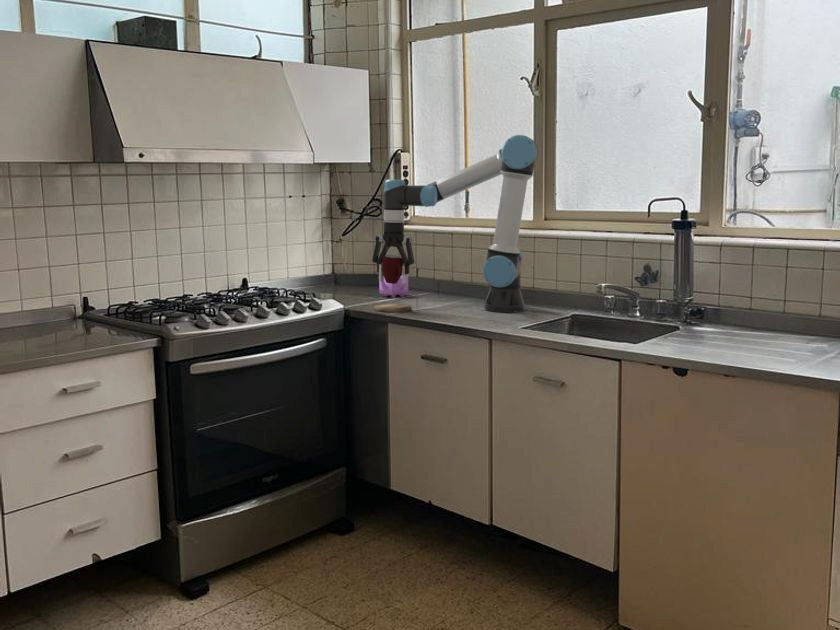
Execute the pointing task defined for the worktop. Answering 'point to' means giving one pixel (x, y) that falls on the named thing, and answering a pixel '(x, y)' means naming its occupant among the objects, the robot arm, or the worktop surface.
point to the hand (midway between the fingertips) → (392, 282)
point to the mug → (392, 268)
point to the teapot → (393, 288)
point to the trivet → (392, 308)
